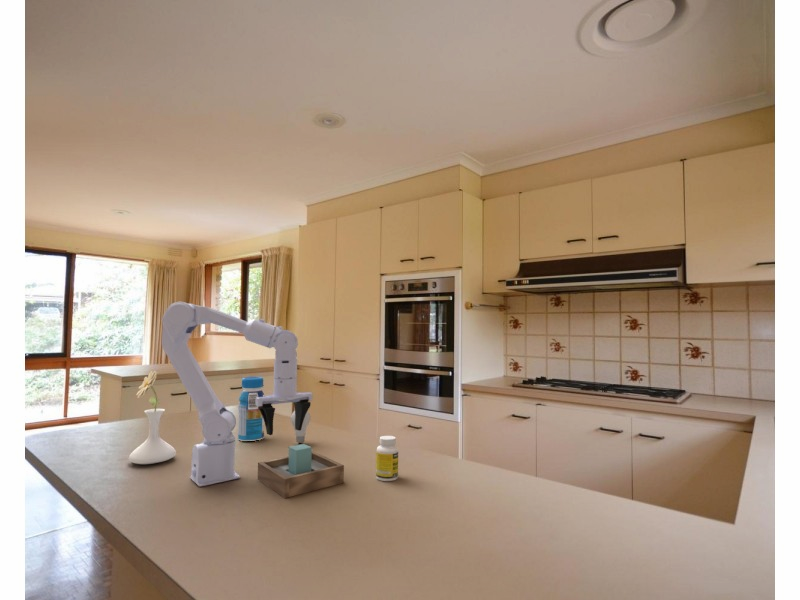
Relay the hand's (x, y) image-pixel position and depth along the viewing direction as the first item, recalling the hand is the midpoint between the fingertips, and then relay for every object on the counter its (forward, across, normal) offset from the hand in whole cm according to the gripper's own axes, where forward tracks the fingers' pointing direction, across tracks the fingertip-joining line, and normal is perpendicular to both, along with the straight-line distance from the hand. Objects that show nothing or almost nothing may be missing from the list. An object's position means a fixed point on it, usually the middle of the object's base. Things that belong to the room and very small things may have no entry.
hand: (284, 431), depth 111 cm
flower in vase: (+11, -24, +31) cm, 40 cm away
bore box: (+10, +1, -8) cm, 13 cm away
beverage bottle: (+10, +6, +38) cm, 40 cm away
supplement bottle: (+10, +19, -19) cm, 28 cm away
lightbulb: (+10, +16, +23) cm, 30 cm away
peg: (+10, +1, -7) cm, 13 cm away
